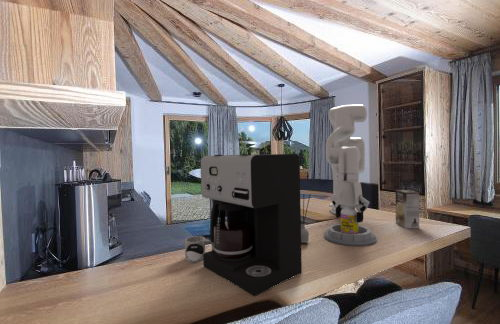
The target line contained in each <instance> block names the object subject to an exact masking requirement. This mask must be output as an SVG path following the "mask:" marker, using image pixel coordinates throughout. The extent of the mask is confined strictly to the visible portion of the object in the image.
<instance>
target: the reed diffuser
mask: <svg viewBox="0 0 500 324" xmlns="http://www.w3.org/2000/svg"><path fill="white" fill-rule="evenodd" d="M310 198H311V194H309V195H308V200H307V205H306V210H305V195H303V200H302V201H303V203H302V221H301V244H303V243H304V244H305V243H309V234H310V233H309V232H310V231H308V229H307V228H306V227H305V226H306V225H305V220H306V216H307V211H308V207H309V202H310Z"/></svg>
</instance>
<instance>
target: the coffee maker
mask: <svg viewBox="0 0 500 324" xmlns="http://www.w3.org/2000/svg"><path fill="white" fill-rule="evenodd" d="M300 159H301V158H300V156H299V154H297V153H277V154H275V153H273V154H272V153H271V154H270V153H269V154H268V153H267V154H263V153H262V154H261V153H260V154H249V153H247V154H246V153H244V154H229V155H228V154H227V155H226V154H225V155H224V154H214V155H204V156H202V157H201V159H200V182H201V183H200V187H201V196H202V197H203V198H205V199H210V200H213V204H212V208H211V215H210V227H209V235H210V236H209V240H210V241H211V242H213V243H214V250H213V251H212V250H209V251H205V252H206V253H204V255H203V259H204V260H203V267H204V268H205V269H207V270H209V271H211V272H213V274H216V275H218V276H219V277H221V278H223V279H224V278H225V279H224V280H226V279H227V280H226V281H228V280H229V281H230V282H229V281H228V282H229V283H231V282H232V284H233V283H234V284H233V285H235V286H236V285H237V286H236V287H238V286H239V287H238V288H240V289H241V288H242V289H241V290H243V291H244V292H247V293H248V294H250V295H252V296H253V297H256V296H258V295H260V294H262V293H265V292H267V291H269V290H270V289H272V288H274V287H276V286H278V285H280V284H281V283H280V282H282V281H284V280H286V279H288V280H290V279H292V278H294V277H296V276H298V275H301V274H302V273H303V270H302V267H303V265H302V263H303V262H302V243H301V222H302V218H301V216H302V213H301V210H302V207H301V168H300V165H301V164H300V163H301V162H300ZM297 274H298V275H297ZM295 275H296V276H295ZM293 276H294V277H293ZM291 277H292V278H291ZM289 278H290V279H289ZM286 281H287V280H286ZM284 282H285V281H284ZM279 283H280V284H279ZM282 283H283V282H282ZM277 284H278V285H277ZM275 285H276V286H275ZM273 286H274V287H273ZM271 287H272V288H271ZM269 288H270V289H269Z"/></svg>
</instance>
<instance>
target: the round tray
mask: <svg viewBox="0 0 500 324" xmlns="http://www.w3.org/2000/svg"><path fill="white" fill-rule="evenodd" d="M323 237H324V239H325V240H326V241H328V242H330V243H333V244H337V245H342V246H348V247H364V246H371V245H374V244H375V243H377V240H378V239H377V236H376V235H375V234H374V233H372V229H371V228H369V227H367V226H364V225H359V224H358V234H348V233H341V223H334V224H332V225H329V226H328V227H327V230H325V231H323Z"/></svg>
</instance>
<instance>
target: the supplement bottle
mask: <svg viewBox="0 0 500 324" xmlns="http://www.w3.org/2000/svg"><path fill="white" fill-rule="evenodd" d="M357 212H358V211H357V209H356V208H355V207H349V206H344V209H342V210H341V217H340V224H341V233H348V234H358V225H359V223H358V222H357Z"/></svg>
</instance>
